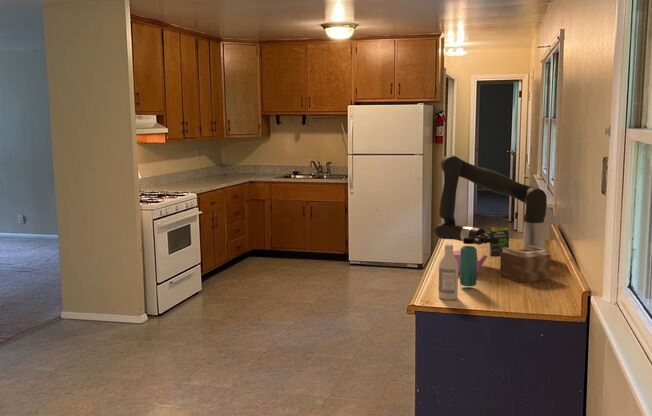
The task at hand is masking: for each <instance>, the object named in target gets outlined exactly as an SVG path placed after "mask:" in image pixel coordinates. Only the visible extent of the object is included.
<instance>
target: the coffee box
mask: <svg viewBox="0 0 652 416" xmlns="http://www.w3.org/2000/svg"><path fill="white" fill-rule="evenodd" d="M509 231H510V229H509V226H489V233H490V237H491V238H497V239H499V244H495V243H489V256H490V257H493V258H494V257H497V258H499V257H500V258H501V252H502V250H503V247H506V248H509V249H510V245H509V244H510V243H509V242H510V232H509Z"/></svg>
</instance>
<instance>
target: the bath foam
mask: <svg viewBox="0 0 652 416" xmlns="http://www.w3.org/2000/svg"><path fill="white" fill-rule="evenodd" d="M453 251H454V244H452V243H446V244H445V245H444V255H443V256H442V258H441V259H440V262H439V264H438V265H439V266H438V297H439V299H441V300H444V301H453V300H456V299H458V297H459V295H458V294H459V293H458V292H459V291H458V289H459V288H458V287H459V275H458V263H457V260H456V259H455V257H454V255H453Z"/></svg>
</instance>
